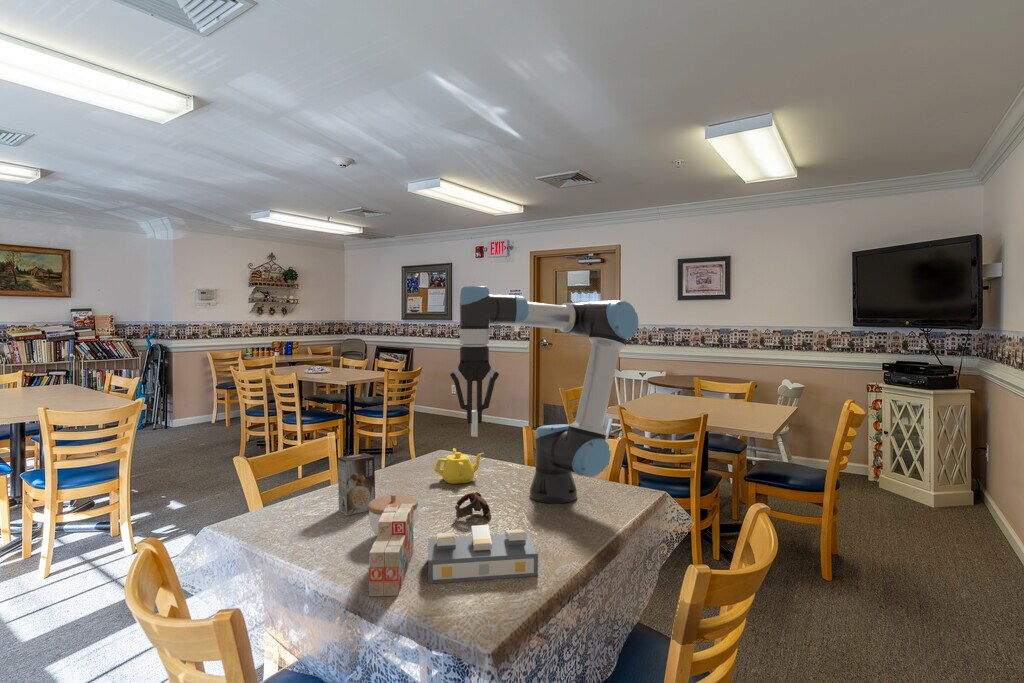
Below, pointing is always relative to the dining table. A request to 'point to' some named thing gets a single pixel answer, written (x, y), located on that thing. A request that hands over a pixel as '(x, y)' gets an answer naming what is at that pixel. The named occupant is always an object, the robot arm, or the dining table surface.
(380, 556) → the stack of blocks
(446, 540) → the rocker
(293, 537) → the dining table surface
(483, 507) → the brown curved piece
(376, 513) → the lidded bowl
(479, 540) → the rocker
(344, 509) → the coffee box
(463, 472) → the teapot
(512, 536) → the small box
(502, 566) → the switch box
